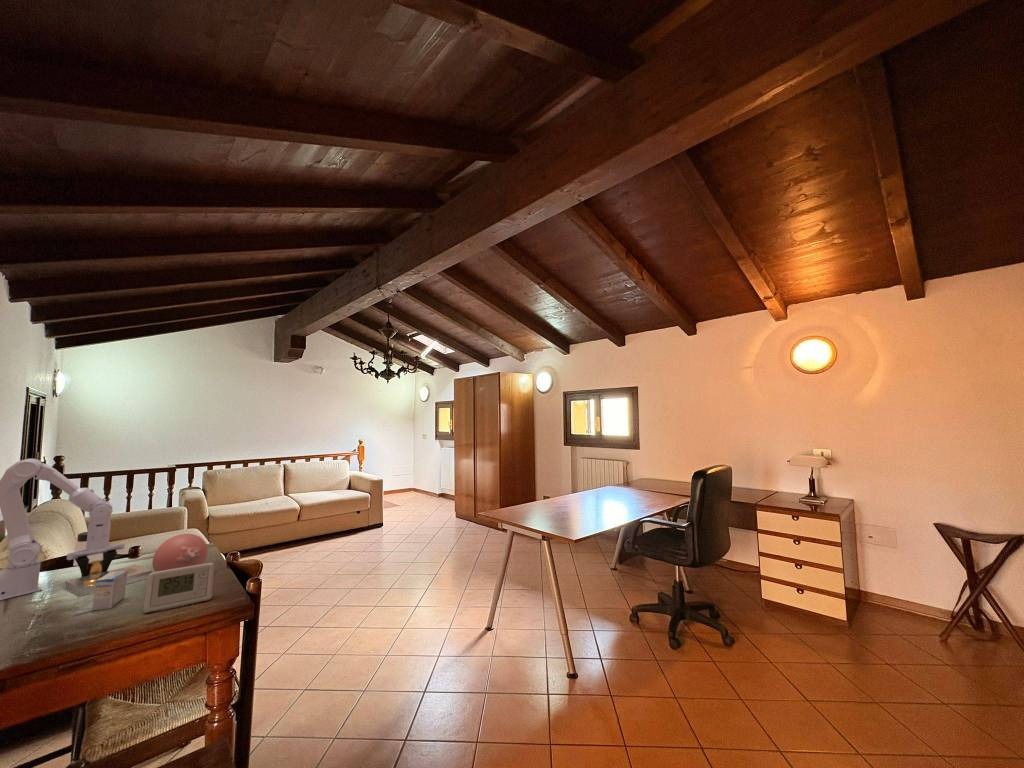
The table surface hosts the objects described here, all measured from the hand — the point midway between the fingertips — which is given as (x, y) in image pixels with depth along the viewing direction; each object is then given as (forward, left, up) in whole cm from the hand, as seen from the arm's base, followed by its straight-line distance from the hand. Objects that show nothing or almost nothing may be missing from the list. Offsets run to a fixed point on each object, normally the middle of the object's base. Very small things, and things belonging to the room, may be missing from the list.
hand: (94, 574), depth 142 cm
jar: (+6, +27, -2) cm, 28 cm away
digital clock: (+4, -54, -2) cm, 54 cm away
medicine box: (-6, -34, -2) cm, 35 cm away
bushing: (0, 0, -1) cm, 1 cm away
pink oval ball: (+14, -30, -2) cm, 33 cm away
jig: (+1, -10, -1) cm, 11 cm away
